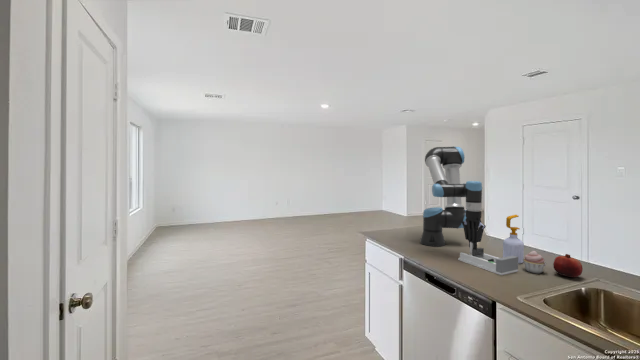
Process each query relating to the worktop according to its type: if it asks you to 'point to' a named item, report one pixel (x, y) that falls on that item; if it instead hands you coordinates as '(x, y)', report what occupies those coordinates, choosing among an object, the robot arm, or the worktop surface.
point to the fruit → (567, 266)
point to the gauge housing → (492, 263)
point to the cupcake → (534, 262)
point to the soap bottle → (513, 243)
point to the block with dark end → (482, 254)
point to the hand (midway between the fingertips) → (472, 254)
